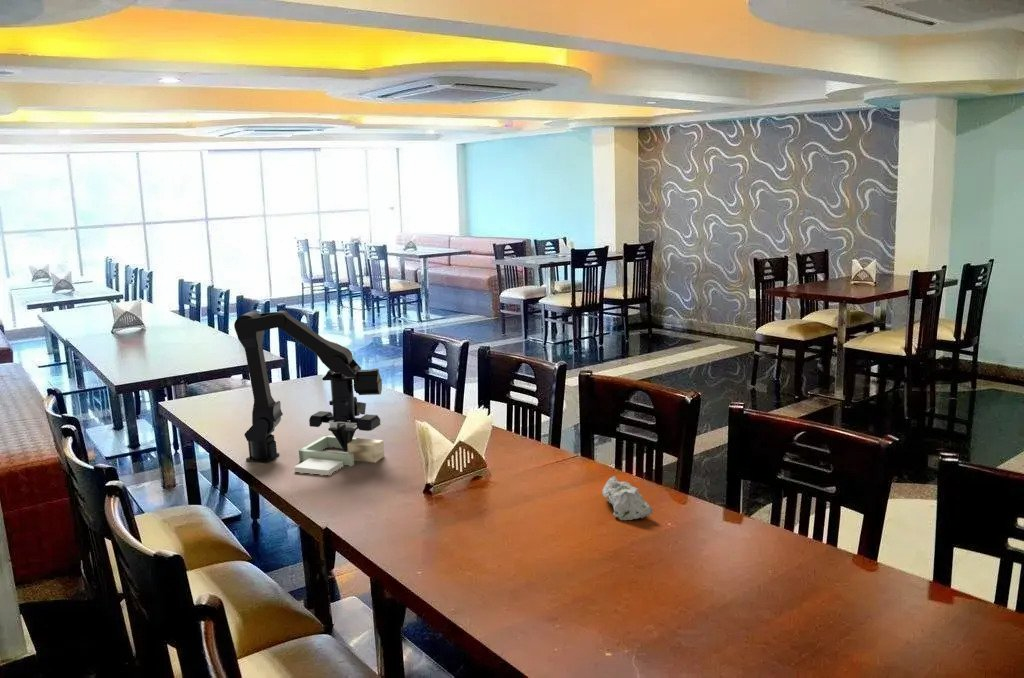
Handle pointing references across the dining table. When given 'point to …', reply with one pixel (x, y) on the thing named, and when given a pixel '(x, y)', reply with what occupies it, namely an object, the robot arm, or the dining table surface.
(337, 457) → the shelf bay
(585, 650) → the dining table surface
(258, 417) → the robot arm
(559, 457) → the dining table surface
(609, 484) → the rock
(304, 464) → the stand
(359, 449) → the block
